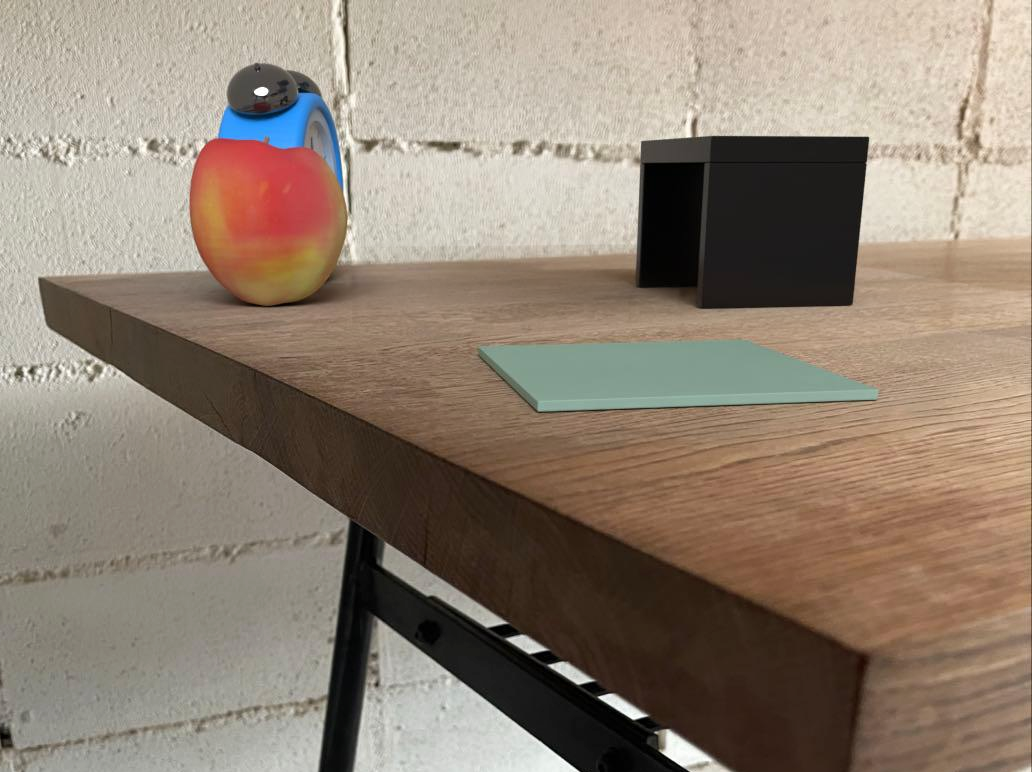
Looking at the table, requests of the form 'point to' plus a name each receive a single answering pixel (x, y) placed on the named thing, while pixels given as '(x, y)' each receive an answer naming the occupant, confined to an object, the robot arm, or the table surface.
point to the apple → (266, 219)
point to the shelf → (752, 218)
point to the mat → (664, 375)
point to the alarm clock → (280, 112)
